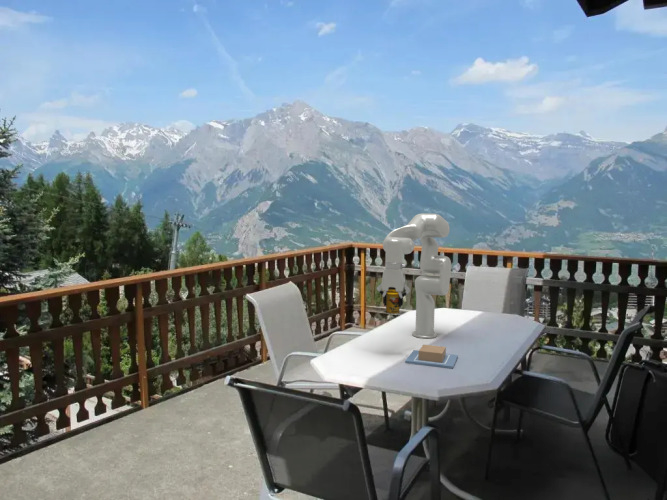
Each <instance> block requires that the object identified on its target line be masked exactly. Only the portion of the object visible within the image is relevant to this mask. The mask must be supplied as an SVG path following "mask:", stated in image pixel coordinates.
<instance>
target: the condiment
mask: <svg viewBox="0 0 667 500" xmlns="http://www.w3.org/2000/svg"><path fill="white" fill-rule="evenodd" d="M399 298H400V296H399V293H398V292H397V291H396V288H394V287H389V288H388V291H387V293H386V306H385V309H384V310H382V311H380V313H383V314H388V315H398V314H401V313H403V311H401V310H400V307H399Z"/></svg>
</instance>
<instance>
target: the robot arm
mask: <svg viewBox="0 0 667 500" xmlns="http://www.w3.org/2000/svg"><path fill="white" fill-rule="evenodd" d="M449 234H450V224H449V222H448V221H447V220H446V219H445V218H444V217H443V216H441V215H440V214H438V213H418V214H416V215H414V216H413V218H411V220H410V221H409V222H408V223H407V224H406V225H404V226H402V227H398V228H396V229H394V230H392V231H390V232H389V233H388V234H387V235H386V237H384V240H383V242H382V249H383V250H384V252H385V259H384V260H385V261H384V263H385V264H384V266H385V267H384V269H383V272H382V277H381V283H380V284H379V285H378V286H377V287H376V290H377V291H378V292H379V293H380V295H381V296H382V299H383V300H382V303H383V306H384V307H386V293H387V291H388V288H389V287H394V288H396V291H397V292H398V293H399V296H400V298H399V308H401V307H403V305H404V297H406V295H407V294H409V293H410V292H411V289H410V288H409V287H408V286H407V285H406V275H405V269H403V268H406V263H405V264H404V263H403V255H408V254H411V253H412V252H413V251H414V249H415V242H414V241H417V240H418V239H419V241H420V243H421V253H420V261H419V268H420V271H421V272H422V273H426V274H435V275H426V274H423V275H419V276H417V277H416V278H415V280H414V289H415V297H416V298H415V303H416V304H415V331H412V333H411V334H412V336H413V337H415V338H420V339H434V338H436V337H437V335H438V334H437V333H436V332H435V309H436V307H435V306H436V304H435V303H436V302H435V300H434V298H433V296H446V295H448V293H449V290H450V281H451V275H452V274H451V273H452V262H451V259H450V257H448V256H446V255H439V244H438V242H437V240H436V239H435V238H443V239H444V238H446V237H448V236H449ZM436 275H437V276H436ZM438 275H439V276H438ZM403 291H404V292H403ZM432 295H433V296H432Z"/></svg>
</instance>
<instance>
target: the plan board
mask: <svg viewBox="0 0 667 500" xmlns="http://www.w3.org/2000/svg"><path fill="white" fill-rule="evenodd" d="M446 351H447V347H446V346H441V345H440V346H439V345H432V344H431V345H430V344H423V345H422V346H421V347H420V349H419V350H416V349H413V350H412V352H411V353H410V354H409V355H408V357H407V358H406V359H405V361H404V363H405V364H410V365H418V366H426V367H427V366H428V367H434V368H443V369H450V368H452V369H454V367H455V365H456V363H457V360H458V358H459V354H452V353H446ZM455 362H456V363H455ZM452 369H451V370H452Z"/></svg>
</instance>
